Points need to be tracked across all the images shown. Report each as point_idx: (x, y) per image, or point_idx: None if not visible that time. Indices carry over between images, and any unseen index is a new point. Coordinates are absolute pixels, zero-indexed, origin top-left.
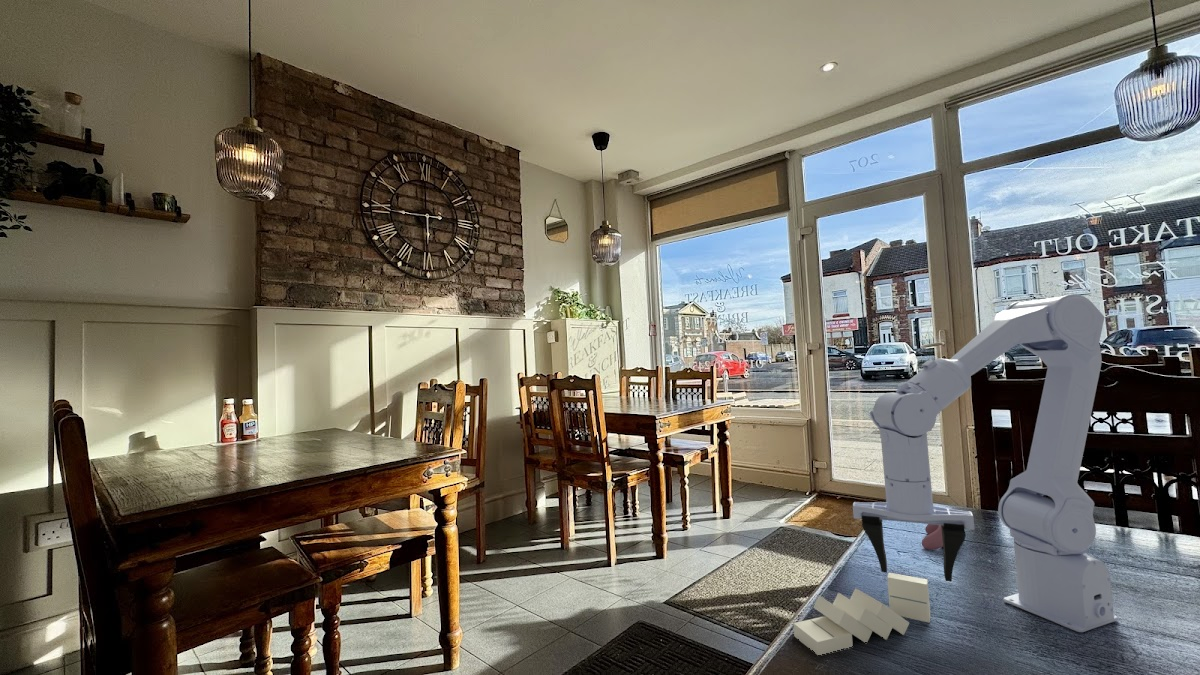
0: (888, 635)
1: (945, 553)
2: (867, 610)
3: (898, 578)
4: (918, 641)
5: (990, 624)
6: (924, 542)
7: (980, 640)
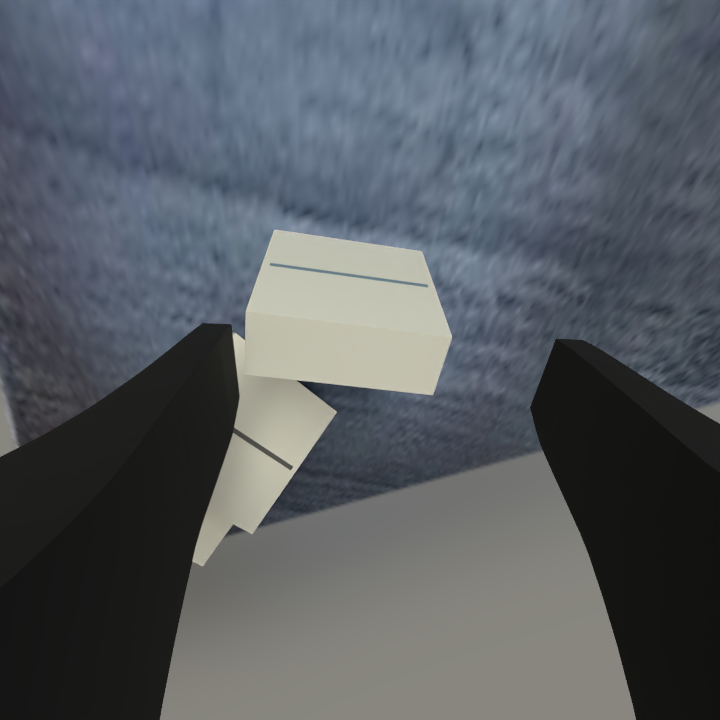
0: None
1: (600, 584)
2: (210, 554)
3: (301, 373)
4: (356, 419)
5: (634, 235)
6: None
7: (539, 359)
